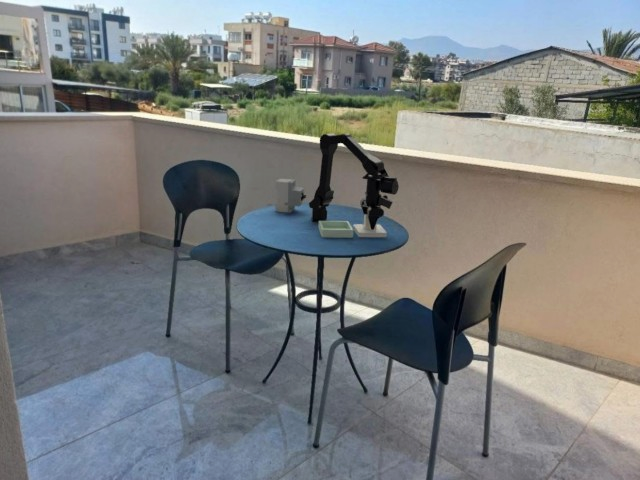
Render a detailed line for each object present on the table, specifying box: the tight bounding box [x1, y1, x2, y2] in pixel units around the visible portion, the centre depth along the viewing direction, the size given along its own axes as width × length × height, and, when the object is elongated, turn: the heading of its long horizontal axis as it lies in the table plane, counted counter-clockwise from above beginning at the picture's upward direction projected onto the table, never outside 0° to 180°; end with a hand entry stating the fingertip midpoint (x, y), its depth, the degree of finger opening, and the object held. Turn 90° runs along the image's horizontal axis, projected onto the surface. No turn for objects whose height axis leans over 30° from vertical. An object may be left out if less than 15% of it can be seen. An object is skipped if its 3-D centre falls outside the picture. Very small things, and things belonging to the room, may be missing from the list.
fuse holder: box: [352, 223, 388, 238], centre depth 190 cm, size 12×12×2 cm
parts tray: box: [318, 220, 355, 239], centre depth 188 cm, size 13×13×3 cm
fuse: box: [363, 214, 378, 230], centre depth 189 cm, size 5×3×8 cm, turn 97°
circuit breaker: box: [274, 178, 307, 214], centre depth 217 cm, size 8×14×15 cm, turn 78°
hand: (369, 226), depth 190 cm, fingers open, 9 cm apart
